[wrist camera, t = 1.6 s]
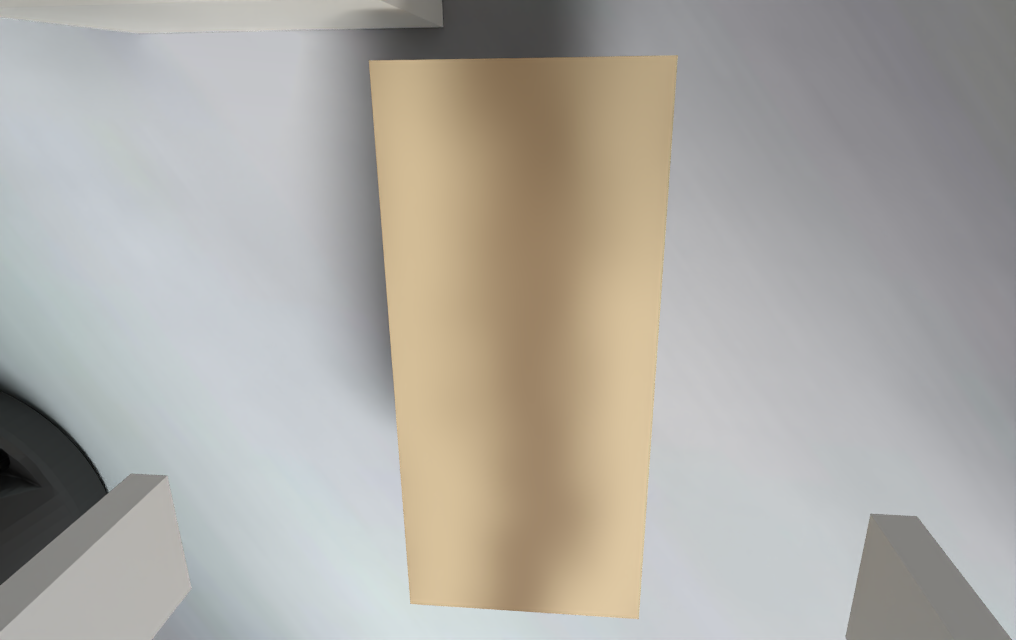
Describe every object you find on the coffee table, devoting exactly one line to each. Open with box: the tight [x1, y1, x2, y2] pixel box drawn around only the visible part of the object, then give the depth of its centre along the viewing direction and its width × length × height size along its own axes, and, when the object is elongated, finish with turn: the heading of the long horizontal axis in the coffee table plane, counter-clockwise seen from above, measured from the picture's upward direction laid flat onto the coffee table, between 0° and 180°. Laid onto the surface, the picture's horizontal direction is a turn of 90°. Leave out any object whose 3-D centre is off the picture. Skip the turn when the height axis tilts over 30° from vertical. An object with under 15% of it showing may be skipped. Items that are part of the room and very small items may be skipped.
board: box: [369, 55, 678, 619], centre depth 21 cm, size 8×18×3 cm, turn 1°
